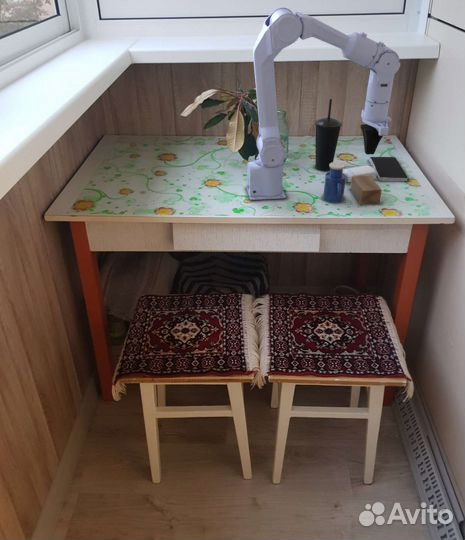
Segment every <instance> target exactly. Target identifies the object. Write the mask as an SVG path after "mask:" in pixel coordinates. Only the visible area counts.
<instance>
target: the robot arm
mask: <svg viewBox="0 0 465 540" xmlns="http://www.w3.org/2000/svg"><path fill="white" fill-rule="evenodd" d="M367 36H368V34H367V33H365V32H364V31H360V33H359V32H352V33H350V34H346V33H344V32H342V31H340V30H338V29H336V28H335V27H332V26H331V25H329V24H326V23H324V22H323V21H321V20H320V19H318V18H315V17H313V16H311V15H309V14H305V13H303V12H299V11H297V10H295V11H292V10H291V9H290V8H287V7H278V8H276V9H274V10H273V11H272V12H271V13H270V14H269V15H268V16H267V17H266V18H265V19H264V22H263V24H262V28H261V30H260V32H259V34H258V36H257V38H256V41H255V42H254V45H253V47H252V59H253V73H254V82H255V93H256V104H257V116H258V136H257V138H256V142H255V143H256V148H257V151H258V154H257V157H256V158H255V160H254V161H249V162H247V164H246V166H247V167H246V191H247V194H248V196H249V197H248V198H249V200H250V201H257V200H259V201H260V200H278V199H279V200H281V199H286V198H287V196H286V194H285V193H286V192H285V191H284V189H283V184H284V183H283V181H284V164H285V163H284V161H285V160H284V159H285V157H286V150H285V148H284V146H283V145H282V142H281V135H280V129H279V117H278V104H277V103H278V102H277V90H276V89H277V88H276V73H275V58H276V57H278V55H279V54H280V53H281V52H282V51H283V50H284V49H286V48H287V47H289V46H292V45H293V44H294V43H296V42H297V41H298V39H299V38H300V39H301V40H302V41H304V40H308V39H310V38H314V39H317V40H319V41H321V42H324V43H326V44H328V45H331V46H333V47H335V48H338V49H340V50H341V53H342V55H343V58H345V59H347V60H349V61H351V62H353V63H356V64H358V65H360V66H361V67H364V68H367V69H368V68H369V69H370V70H369V77H368V81H367V82H368V83H367V89H366V97H365V103H364V109H362V110H361V115H360V117H361V121H362V123H363V124H360V126H359V127H360V130H361V133H362V138H363V147H364V148H363V149H364V154H365V155H375V153H376V151H377V148H378V146H379V144H380V142H381V140H382V138H383V137H384V136H388V135H389V130H390V127H389V126H388V125H389V124H388V122H389V123H390V122H392V118H391V117H390V116H389V115H388V114H389V109H390V102H391V96H392V90H393V86H394V78H395V74H396V73H397V72H398V71H399V69H400V67H401V62H400V56H399V55H398V53H397V52H396V51H395V50H393V49H392V48H390V47H388V46H387V45H386V44H385V43H384V42H382V41H378V42H377V41H375V40H373V39H371V38H369V37H367Z"/></svg>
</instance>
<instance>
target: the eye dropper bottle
mask: <svg viewBox="0 0 465 540" xmlns="http://www.w3.org/2000/svg"><path fill="white" fill-rule="evenodd" d="M343 173H344V174H345V175H346V181H345V183H346V182H347V183H349V184H351V182H352V176H371V177H372V178H373V180H375V179H376V177H377V175H376V171H375V169H374V168H373V167H372V165H367V164H366V165H365V164H364V165H360V166H359V165H358V166H353V167H347V168H343Z"/></svg>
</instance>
